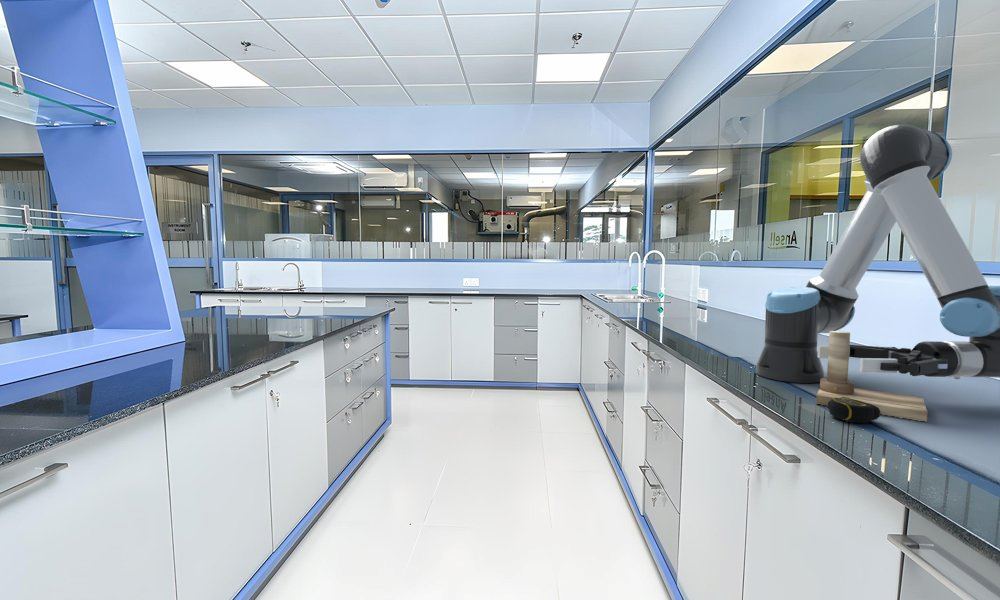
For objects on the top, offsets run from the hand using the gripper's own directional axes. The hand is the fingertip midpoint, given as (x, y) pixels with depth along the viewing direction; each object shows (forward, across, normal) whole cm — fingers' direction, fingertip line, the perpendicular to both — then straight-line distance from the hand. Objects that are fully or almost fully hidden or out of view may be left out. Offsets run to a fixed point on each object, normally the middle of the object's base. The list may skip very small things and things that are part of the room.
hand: (838, 358), depth 96 cm
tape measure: (+5, -12, -10) cm, 16 cm away
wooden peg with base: (0, +1, -7) cm, 7 cm away
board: (-4, -3, -9) cm, 11 cm away
